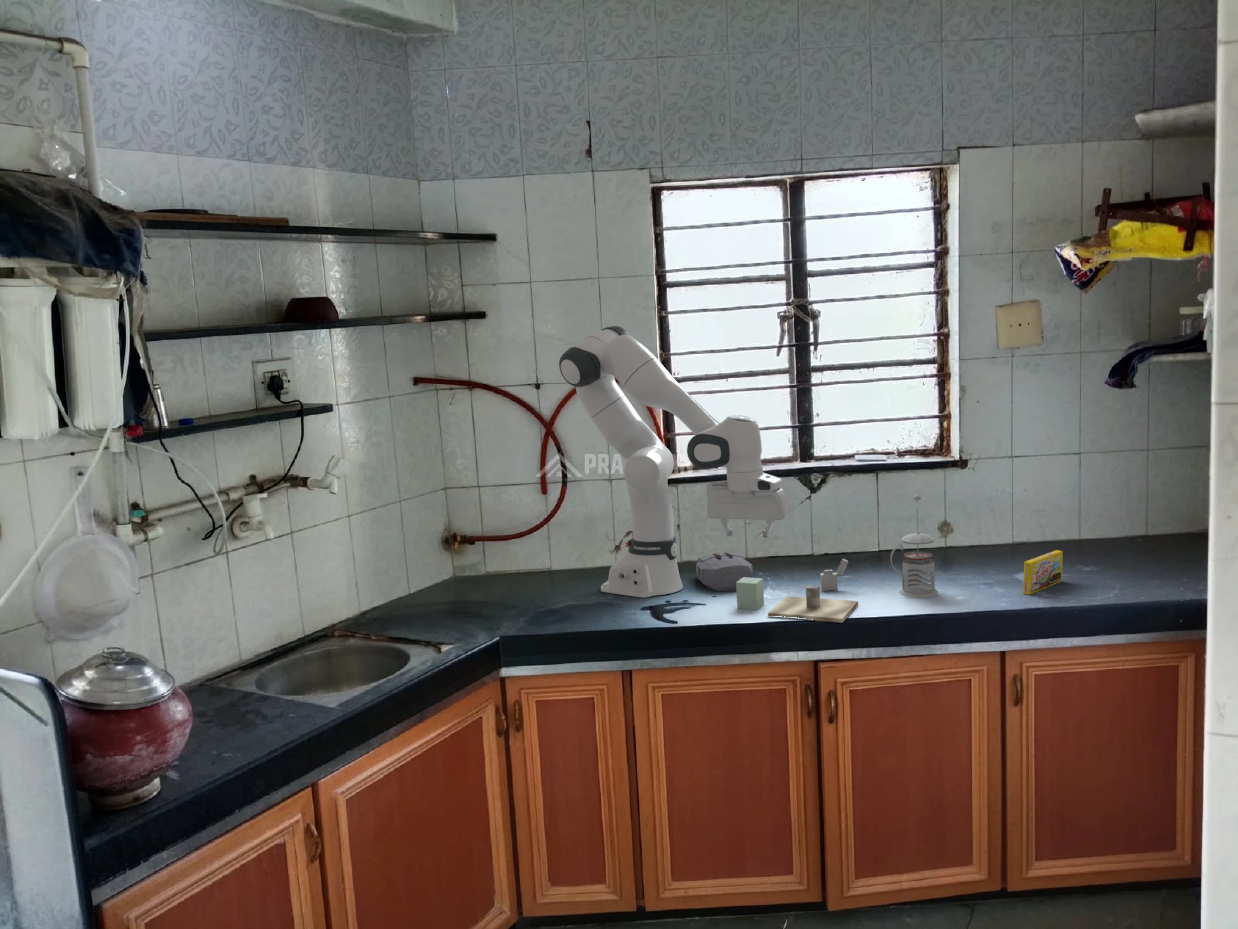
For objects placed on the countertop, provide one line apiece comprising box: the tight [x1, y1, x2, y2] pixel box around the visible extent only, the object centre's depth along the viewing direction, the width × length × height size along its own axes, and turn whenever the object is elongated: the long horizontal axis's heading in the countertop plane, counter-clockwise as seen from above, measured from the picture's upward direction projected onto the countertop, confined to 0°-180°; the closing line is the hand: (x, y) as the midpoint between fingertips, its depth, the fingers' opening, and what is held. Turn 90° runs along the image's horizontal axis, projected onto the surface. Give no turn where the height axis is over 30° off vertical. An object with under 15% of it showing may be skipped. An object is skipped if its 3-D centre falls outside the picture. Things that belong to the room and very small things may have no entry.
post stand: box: [767, 584, 859, 624], centre depth 239 cm, size 18×15×6 cm
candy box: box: [1022, 549, 1064, 596], centre depth 247 cm, size 16×2×8 cm, turn 129°
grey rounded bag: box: [695, 551, 754, 592], centre depth 271 cm, size 15×8×20 cm
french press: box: [889, 494, 940, 599], centre depth 248 cm, size 10×12×25 cm
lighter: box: [819, 558, 849, 592], centre depth 257 cm, size 7×2×8 cm, turn 87°
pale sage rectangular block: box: [735, 577, 765, 610], centre depth 246 cm, size 5×5×7 cm
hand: (748, 536), depth 244 cm, fingers open, 8 cm apart
